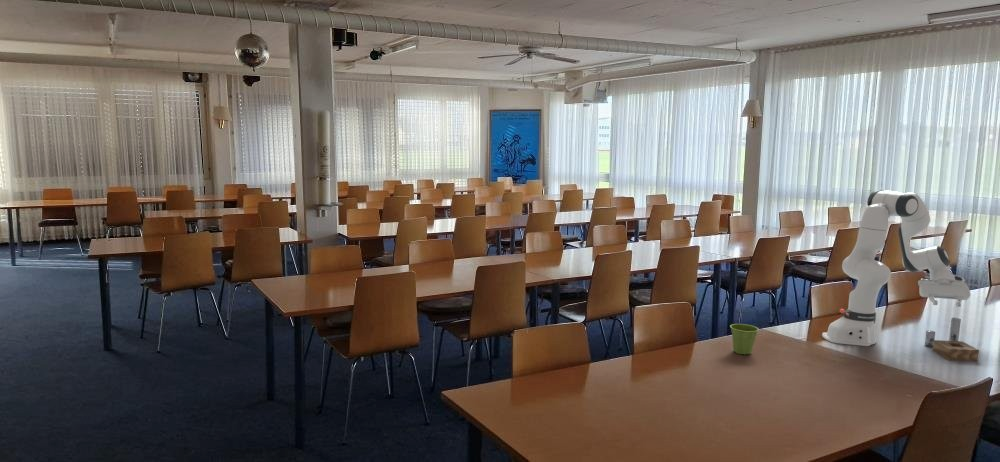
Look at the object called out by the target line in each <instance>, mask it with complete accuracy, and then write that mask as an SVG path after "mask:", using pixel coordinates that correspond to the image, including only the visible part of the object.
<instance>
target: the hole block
mask: <svg viewBox="0 0 1000 462" xmlns="http://www.w3.org/2000/svg"><path fill="white" fill-rule="evenodd" d="M932 352H934V353H935V354H937V355H938V356H940V357H942V358H943V359H945V360H947V361H958V362H959V361H963V362H964V361H965V362H977V361H979V352H980V350H979V349H978V348H976V347H974V346H972V345H970V344H968V343H966V342H964V341H961V340H960V341H959V340H958V341H949V340H939V339H938V340H937V339H935V340H934V343H933V347H932Z"/></svg>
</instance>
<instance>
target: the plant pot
mask: <svg viewBox="0 0 1000 462" xmlns="http://www.w3.org/2000/svg"><path fill="white" fill-rule="evenodd" d="M729 327H730V331H731V335H732V347H733V349H732V350H733V352H734V353H736V354H738V355H742V354H744V355H751V354H752V351H753V347H754V343H755V339H756V336H757V334H758V332H759V331H760V328H758V327H757V326H755V325H750V324H747V323H746V324H744V323H734V324H733V323H732V324H730V325H729Z"/></svg>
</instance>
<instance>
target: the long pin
mask: <svg viewBox="0 0 1000 462" xmlns="http://www.w3.org/2000/svg"><path fill="white" fill-rule="evenodd" d="M961 323H962V319H961V318H958V317H951V321H950V329H949V336H948V341H959V339H960V330H961Z"/></svg>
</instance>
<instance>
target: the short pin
mask: <svg viewBox="0 0 1000 462" xmlns="http://www.w3.org/2000/svg"><path fill="white" fill-rule="evenodd" d="M924 337H925V338H924V346H925V347H926V348H933V343H934V340H936V331H934V330H930V329H929V330H927V329H926V331H925V336H924Z"/></svg>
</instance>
